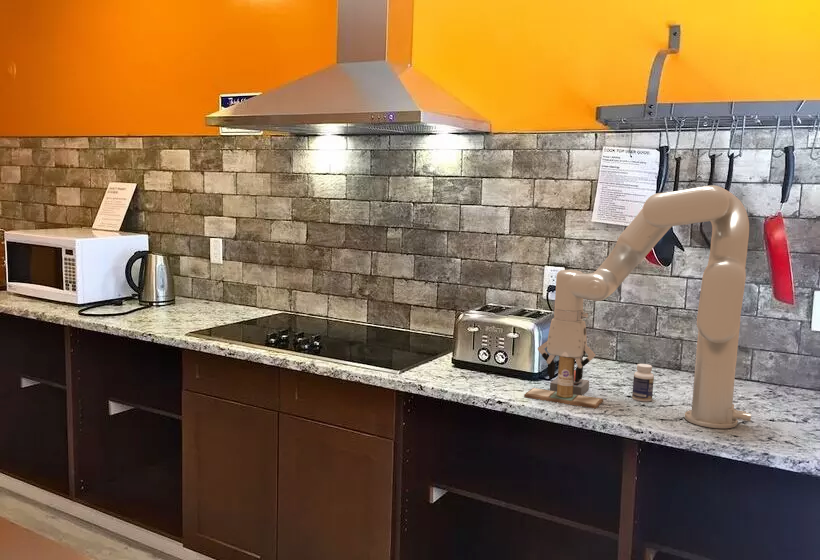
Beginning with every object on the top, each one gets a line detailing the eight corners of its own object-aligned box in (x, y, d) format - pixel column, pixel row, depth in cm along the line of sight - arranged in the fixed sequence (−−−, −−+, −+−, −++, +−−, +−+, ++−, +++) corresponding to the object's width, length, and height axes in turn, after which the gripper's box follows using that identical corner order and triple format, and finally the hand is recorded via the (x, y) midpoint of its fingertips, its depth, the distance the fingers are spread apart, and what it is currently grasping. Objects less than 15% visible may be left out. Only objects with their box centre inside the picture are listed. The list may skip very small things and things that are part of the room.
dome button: (584, 387, 219) (585, 368, 219) (578, 392, 213) (579, 373, 213) (561, 383, 223) (562, 365, 222) (554, 388, 217) (555, 369, 216)
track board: (602, 401, 208) (603, 398, 208) (596, 408, 201) (596, 405, 201) (533, 390, 217) (533, 387, 217) (524, 397, 210) (524, 393, 210)
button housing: (588, 389, 220) (589, 380, 220) (580, 396, 212) (581, 387, 212) (558, 384, 224) (559, 375, 224) (549, 391, 216) (550, 382, 216)
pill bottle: (651, 403, 208) (653, 368, 207) (630, 400, 210) (633, 366, 209) (653, 398, 213) (655, 364, 212) (633, 395, 215) (635, 362, 214)
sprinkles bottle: (558, 398, 206) (560, 349, 205) (555, 393, 211) (557, 346, 209) (574, 398, 206) (577, 350, 204) (571, 394, 211) (574, 346, 209)
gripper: (603, 316, 205) (599, 380, 207) (541, 310, 213) (538, 371, 215) (596, 321, 198) (592, 387, 201) (533, 314, 206) (530, 377, 209)
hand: (564, 378), depth 208 cm, fingers open, 6 cm apart
